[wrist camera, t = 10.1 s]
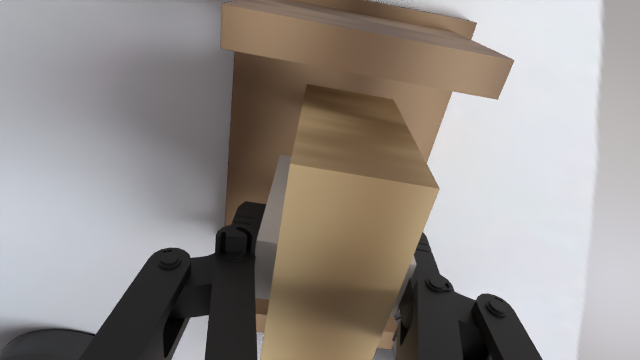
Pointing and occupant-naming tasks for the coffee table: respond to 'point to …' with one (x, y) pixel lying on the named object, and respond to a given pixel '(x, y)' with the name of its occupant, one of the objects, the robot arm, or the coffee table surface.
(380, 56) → the peg frame
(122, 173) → the coffee table surface
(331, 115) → the light wooden block
